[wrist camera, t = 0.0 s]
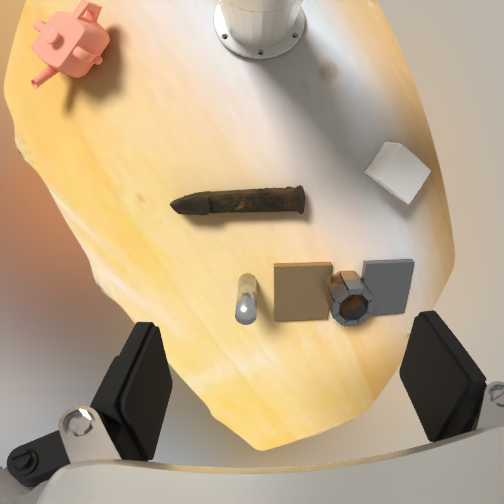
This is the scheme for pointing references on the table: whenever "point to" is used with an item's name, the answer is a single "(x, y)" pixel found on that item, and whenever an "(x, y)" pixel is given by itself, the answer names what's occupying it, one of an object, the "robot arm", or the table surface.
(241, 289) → the hinge pin
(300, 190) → the hand tool
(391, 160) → the light grey cube
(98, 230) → the table surface
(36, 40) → the teapot
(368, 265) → the hinge
